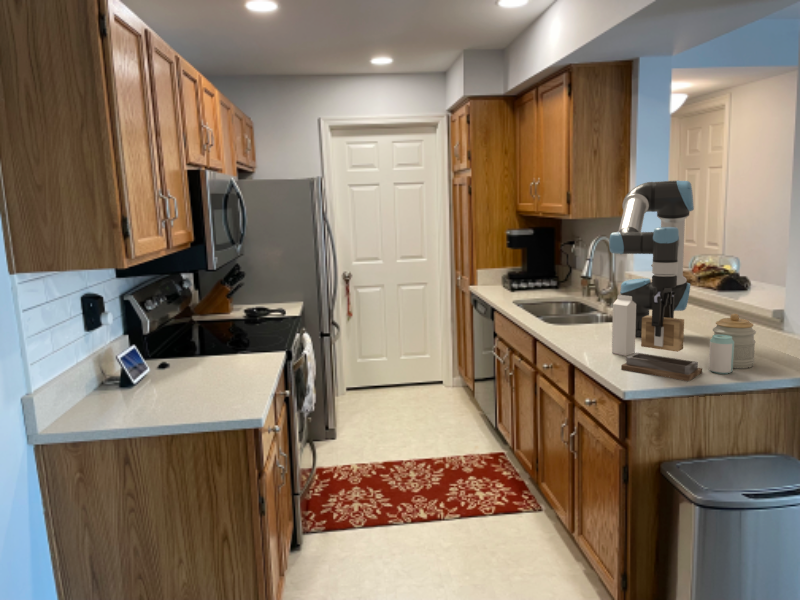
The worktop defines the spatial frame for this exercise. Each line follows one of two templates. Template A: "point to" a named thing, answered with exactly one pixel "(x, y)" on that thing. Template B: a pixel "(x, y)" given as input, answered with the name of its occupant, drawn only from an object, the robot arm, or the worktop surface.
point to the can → (721, 354)
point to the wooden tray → (662, 366)
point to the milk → (624, 326)
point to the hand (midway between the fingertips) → (661, 344)
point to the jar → (738, 339)
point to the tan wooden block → (671, 334)
